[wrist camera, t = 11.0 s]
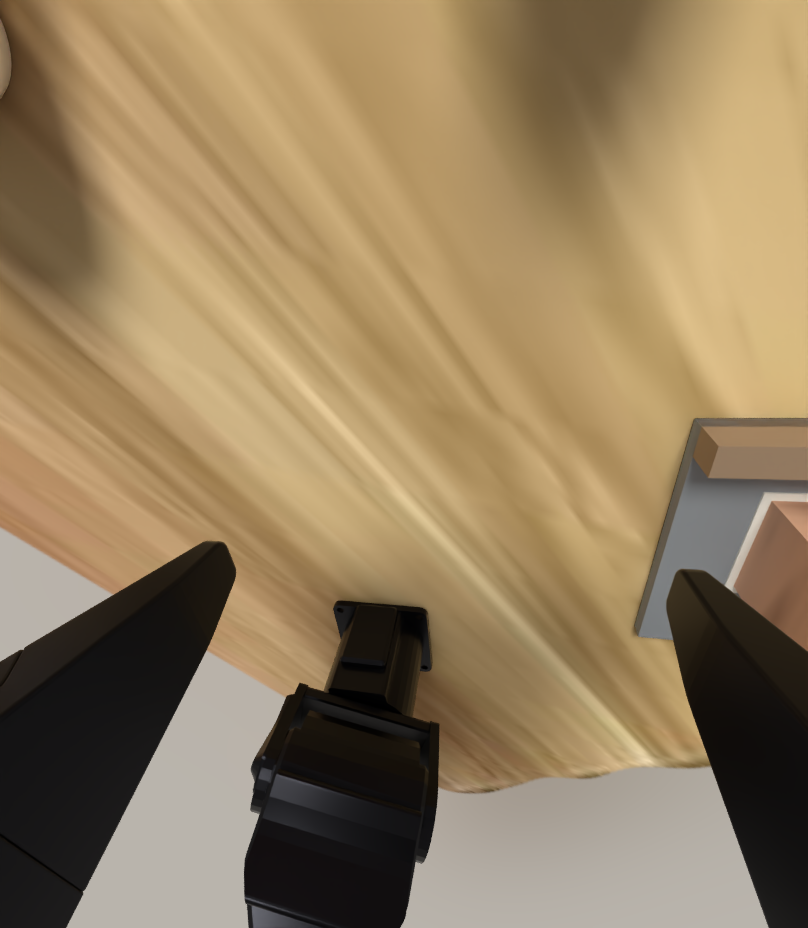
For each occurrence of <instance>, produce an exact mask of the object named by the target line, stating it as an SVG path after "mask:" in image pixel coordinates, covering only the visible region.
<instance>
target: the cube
mask: <svg viewBox="0 0 808 928" xmlns="http://www.w3.org/2000/svg"><path fill="white" fill-rule="evenodd" d="M734 588H735V589H736V591H737V593H738V594H739V596H740V598H741V599H742V600H743V601H745V602H746V603H747V604H749V605H750V606H751V607H752V608H754V609H755V610H756V611H757V612H759V613H760V614H761V615H762V616H764V617H765V618H766V619H768V620H769V621H770V622H771V623H773V624H774V625H775V626H776V627H778V628H779V629H780V630H781V631H783V632H784V633H785V634H787V635H788V636H789V637H790V638H792V639H793V640H794V641H795V642H797V643H798V644H799V645H800V646H802V647H803V648H804V649H806V650H807V651H808V502H792V501H771V504H770V506H769V508H768V510H767V513H766V515H765V517H764V519H763V521H762V524H761V526H760V528H759V530H758V533H757V535H756V537H755V539H754V542H753V544H752V546H751V548H750V550H749V553H748V555H747V557H746V559H745V562H744V564H743V566H742V568H741V571H740V573H739V575H738V577H737V579H736V582H735V584H734Z"/></svg>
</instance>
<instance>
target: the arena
mask: <svg viewBox="0 0 808 928" xmlns="http://www.w3.org/2000/svg"><path fill="white" fill-rule="evenodd" d="M771 501H792V502H808V418H695V419H694V422H693V426H692V429H691V433H690V436H689V439H688V443H687V446H686V450H685V453H684V457H683V460H682V464H681V467H680V471H679V474H678V477H677V481H676V484H675V488H674V491H673V495H672V498H671V502H670V505H669V508H668V512H667V515H666V519H665V522H664V526H663V529H662V533H661V536H660V540H659V543H658V546H657V550H656V553H655V557H654V560H653V564H652V567H651V571H650V574H649V577H648V581H647V584H646V588H645V591H644V595H643V598H642V602H641V605H640V609H639V612H638V615H637V619H636V622H635V628H636V632H637V635H638V637H647V638H658V639H669V640H673V637H672V633H671V629H670V624H669V620H668V616H667V611H666V600H667V597H668V594H669V591H670V588H671V585H672V582H673V579H674V576H675V573H676V572H677V571H678V570H679V569H697V570H704V571H706V572H708V573H709V574H711V575H712V576H713V577H714V578H716V579H717V580H718V581H719V582H721V583H722V584H723V585H724V586H726V587H727V588H728V589H730V590H731V591H732V592H733V593H735V594H736V595H737V596H738V597H740V596H739V594H738V593H737V591H736V589H735V588H734V584H735V582H736V579H737V577H738V575H739V573H740V571H741V568H742V566H743V564H744V562H745V559H746V557H747V555H748V553H749V550H750V548H751V546H752V544H753V542H754V539H755V537H756V535H757V533H758V530H759V528H760V526H761V524H762V521H763V519H764V517H765V515H766V513H767V510H768V508H769V506H770V504H771Z"/></svg>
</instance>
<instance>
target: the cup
mask: <svg viewBox="0 0 808 928" xmlns="http://www.w3.org/2000/svg"><path fill="white" fill-rule="evenodd" d="M11 70H12V62H11V52H10V47H9V42H8V38H7V35H6V32H5V29H4V26H3V24H2V21H1V19H0V99H1V97H2V96H3V94H4V93H5V91H6V90H7V88H8V85H9V82H10V78H11Z"/></svg>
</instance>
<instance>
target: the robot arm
mask: <svg viewBox="0 0 808 928" xmlns="http://www.w3.org/2000/svg"><path fill="white" fill-rule="evenodd" d="M235 577H236V568H235V565H234V562H233V560H232V557H231V555H230V553H229V550H228V548H227V546H226V544H225V543H224V542H220V541H205V542H202V543H201V544H199V545H197V546H195V547H194V548H192V549H190V550H189V551H187V552H185V553H184V554H182V555H180V556H179V557H177V558H175V559H173V560H172V561H170V562H168V563H167V564H165V565H163V566H162V567H160V568H158V569H157V570H155V571H153V572H151V573H150V574H148V575H146V576H145V577H143V578H141V579H140V580H138V581H136V582H134V583H133V584H131V585H129V586H128V587H126V588H124V589H123V590H121V591H119V592H118V593H116V594H114V595H112V596H111V597H109V598H107V599H106V600H104V601H102V602H101V603H99V604H97V605H96V606H94V607H92V608H90V609H89V610H87V611H85V612H84V613H82V614H80V615H79V616H77V617H75V618H74V619H72V620H70V621H69V622H67V623H65V624H63V625H62V626H60V627H58V628H57V629H55V630H53V631H52V632H50V633H48V634H46V635H45V636H43V637H41V638H40V639H38V640H36V641H35V642H33V643H31V644H30V645H28V646H26V647H25V648H24V650H19V651H18V652H16V653H14V654H13V655H11V656H9V657H7V658H6V659H4V660H2V661H1V662H0V928H66V927H67V925H68V923H69V921H70V919H71V917H72V915H73V913H74V911H75V909H76V907H77V905H78V903H79V901H80V900H81V897H82V895H83V891H84V890H85V889H86V887H87V885H88V883H89V881H90V879H91V877H92V875H93V873H94V871H95V869H96V867H97V865H98V863H99V861H100V859H101V857H102V855H103V854H104V852H105V850H106V847H107V846H108V844H109V842H110V840H111V838H112V836H113V834H114V832H115V830H116V828H117V826H118V824H119V822H120V820H121V818H122V816H123V814H124V812H125V810H126V808H127V806H128V804H129V802H130V800H131V798H132V796H133V794H134V792H135V790H136V788H137V786H138V785H139V783H140V781H141V779H142V777H143V775H144V773H145V771H146V769H147V767H148V765H149V763H150V761H151V759H152V757H153V755H154V753H155V751H156V749H157V747H158V745H159V743H160V741H161V739H162V737H163V735H164V733H165V731H166V729H167V727H168V725H169V723H170V721H171V719H172V717H173V715H174V714H175V711H176V710H177V708H178V705H179V704H180V702H181V700H182V698H183V696H184V694H185V692H186V690H187V688H188V686H189V684H190V682H191V680H192V678H193V676H194V674H195V672H196V670H197V668H198V666H199V664H200V662H201V660H202V658H203V656H204V654H205V652H206V650H207V648H208V646H209V644H210V642H211V639H212V637H213V635H214V632H215V630H216V627H217V625H218V622H219V619H220V617H221V614H222V612H223V609H224V607H225V604H226V601H227V599H228V596H229V594H230V591H231V589H232V586H233V584H234V581H235ZM333 610H334V614H335V618H336V622H337V626H338V630H339V633H340V637H341V642H340V644H339V647H338V650H337V653H336V656H335V659H334V662H333V665H332V668H331V671H330V674H329V677H328V680H327V682H326V685H325V688H324V691H320V690H317V689H314V688H310V687H308V685H306V684H303V683H299V685H298V687H297V689H296V692H295V694H291V695H288V696H287V697H286V699H285V702H284V704H283V706H282V709H281V711H280V714H279V716H278V718H277V721H276V723H275V724H274V726H273V728H272V730H271V732H270V733H269V735H268V737H267V738H266V740H265V742H264V743H263V745H262V747H261V748H260V750H259V752H258V753H257V755H256V757H255V759H254V761H253V764H252V766H251V772H252V775H253V778H254V781H255V783H254V788H253V793H254V794H253V798H252V802H251V809H250V810H251V811H252V812H255V813H258V814H260V815H259V818H258V821H257V824H256V827H255V830H254V833H253V836H252V839H251V842H250V845H249V847H248V851H247V854H246V858H245V868H244V894H245V903H246V904H247V910H248V925H249V928H400V927H401V925H402V923H403V922H404V919H405V916H406V910H407V907H408V902H409V896H410V891H411V885H412V878H413V873H414V867H415V862H418V863H421V864H422V863H423V862H424V860H425V858H426V856H427V853H428V850H429V846H430V843H431V837H432V833H433V828H434V822H435V815H436V808H437V797H438V764H439V723H435V722H432V721H430V723H429V722H426V721H423V720H419V719H416V718H412V717H413V711H414V704H415V698H416V692H417V685H418V679H419V673H420V671H425V672H428V671H430V670H431V667H432V657H431V646H430V635H429V623H428V613H427V611H426V610H425V609H424V608H420V607H410V606H398V605H386V604H374V603H362V602H350V601H337V602H336V603H335V605H334V608H333ZM666 611H667V616H668V620H669V624H670V629H671V633H672V637H673V642H674V646H675V650H676V654H677V659H678V663H679V667H680V672H681V676H682V680H683V684H684V688H685V692H686V696H687V699H688V702H689V705H690V708H691V711H692V714H693V717H694V719H695V722H696V725H697V728H698V731H699V733H700V736H701V739H702V742H703V745H704V747H705V750H706V753H707V756H708V759H709V761H710V764H711V767H712V770H713V773H714V775H715V778H716V781H717V784H718V787H719V790H720V792H721V795H722V798H723V801H724V804H725V806H726V809H727V812H728V815H729V818H730V820H731V823H732V826H733V829H734V831H735V834H736V837H737V840H738V843H739V845H740V848H741V851H742V854H743V857H744V860H745V863H746V865H747V868H748V871H749V874H750V876H751V879H752V882H753V885H754V888H755V891H756V893H757V896H758V899H759V901H760V905H761V907H762V910H763V913H764V916H765V919H766V922H767V924H768V927H769V928H808V651H807V650H806V649H804V648H803V647H802V646H800V645H799V644H798V643H797V642H795V641H794V640H793V639H792V638H790V637H789V636H788V635H787V634H785V633H784V632H783V631H781V630H780V629H779V628H778V627H776V626H775V625H774V624H773V623H771V622H770V621H769V620H768V619H766V618H765V617H764V616H762V615H761V614H760V613H759V612H757V611H756V610H755V609H754V608H752V607H751V606H750V605H749V604H747V603H746V602H745V601H743V600H742V599H741V598H740V597H738V596H737V595H736V594H735V593H733V592H732V591H731V590H730V589H728V588H727V587H726V586H724V585H723V584H722V583H721V582H719V581H718V580H717V579H716V578H714V577H713V576H712V575H711V574H709V573H708V572H706V571H704V570H697V569H679V570H678V571H677V572H676V573H675V576H674V579H673V582H672V585H671V588H670V591H669V594H668V597H667V600H666Z"/></svg>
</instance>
